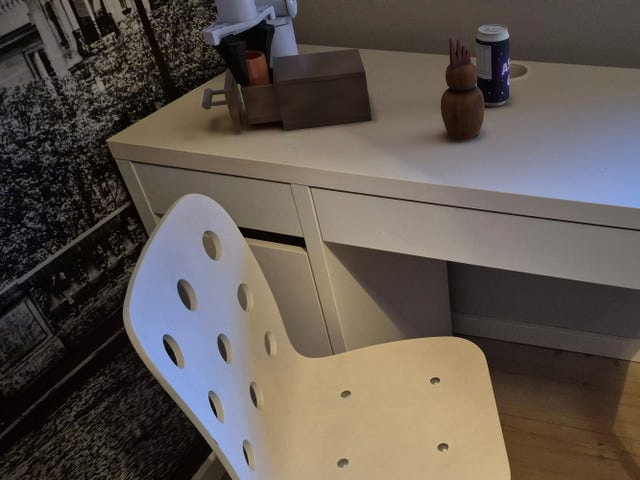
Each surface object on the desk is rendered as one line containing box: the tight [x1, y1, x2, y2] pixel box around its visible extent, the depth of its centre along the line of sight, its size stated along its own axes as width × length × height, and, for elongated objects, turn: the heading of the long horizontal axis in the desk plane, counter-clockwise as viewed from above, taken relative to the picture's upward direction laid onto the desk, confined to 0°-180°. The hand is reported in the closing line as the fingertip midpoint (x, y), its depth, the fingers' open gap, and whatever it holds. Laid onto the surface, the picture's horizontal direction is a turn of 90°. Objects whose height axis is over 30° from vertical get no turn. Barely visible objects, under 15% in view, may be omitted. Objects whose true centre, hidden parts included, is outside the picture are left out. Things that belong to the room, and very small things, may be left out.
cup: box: [239, 50, 271, 87], centre depth 109 cm, size 5×5×5 cm
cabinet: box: [272, 48, 373, 131], centre depth 113 cm, size 15×12×8 cm
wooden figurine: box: [440, 38, 485, 140], centre depth 103 cm, size 7×6×15 cm
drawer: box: [201, 67, 282, 131], centre depth 112 cm, size 18×10×6 cm, turn 104°
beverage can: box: [475, 23, 511, 107], centre depth 114 cm, size 6×6×12 cm
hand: (253, 78), depth 110 cm, fingers closed on cup, 5 cm apart
